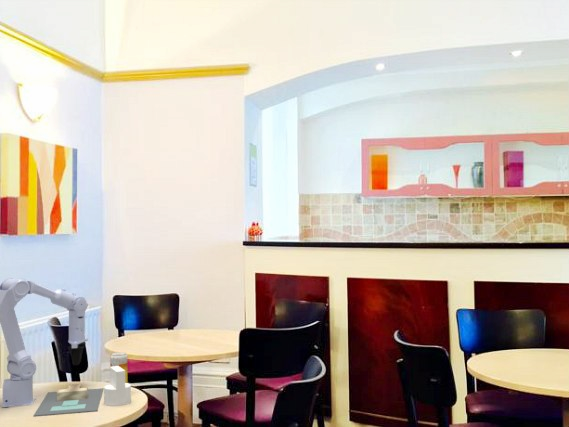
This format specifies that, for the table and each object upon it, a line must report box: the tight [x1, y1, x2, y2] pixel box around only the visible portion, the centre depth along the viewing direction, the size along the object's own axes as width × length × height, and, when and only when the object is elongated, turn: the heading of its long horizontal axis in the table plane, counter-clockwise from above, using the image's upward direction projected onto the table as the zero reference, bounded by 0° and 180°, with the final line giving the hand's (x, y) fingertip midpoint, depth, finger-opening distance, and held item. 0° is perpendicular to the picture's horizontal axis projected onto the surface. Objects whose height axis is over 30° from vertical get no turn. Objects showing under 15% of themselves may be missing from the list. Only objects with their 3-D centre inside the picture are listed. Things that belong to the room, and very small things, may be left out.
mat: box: [33, 387, 104, 418], centre depth 203 cm, size 20×28×1 cm
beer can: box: [109, 351, 129, 383], centre depth 212 cm, size 6×6×15 cm
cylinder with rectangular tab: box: [103, 366, 132, 407], centre depth 201 cm, size 9×9×12 cm
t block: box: [56, 383, 89, 401], centre depth 209 cm, size 10×10×3 cm
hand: (76, 363), depth 219 cm, fingers open, 4 cm apart
